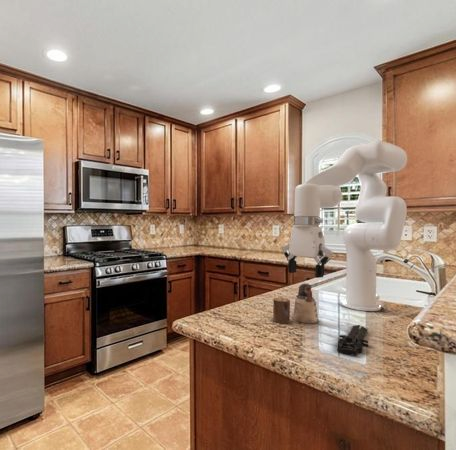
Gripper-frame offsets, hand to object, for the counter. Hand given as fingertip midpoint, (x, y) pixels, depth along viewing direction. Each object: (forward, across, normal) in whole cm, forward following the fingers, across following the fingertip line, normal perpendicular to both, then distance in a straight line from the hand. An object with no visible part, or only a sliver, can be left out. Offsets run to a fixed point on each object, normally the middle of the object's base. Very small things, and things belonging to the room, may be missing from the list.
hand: (305, 274), depth 102 cm
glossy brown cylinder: (+15, +3, +7) cm, 17 cm away
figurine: (+15, 0, -1) cm, 15 cm away
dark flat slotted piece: (+15, -17, +3) cm, 23 cm away
